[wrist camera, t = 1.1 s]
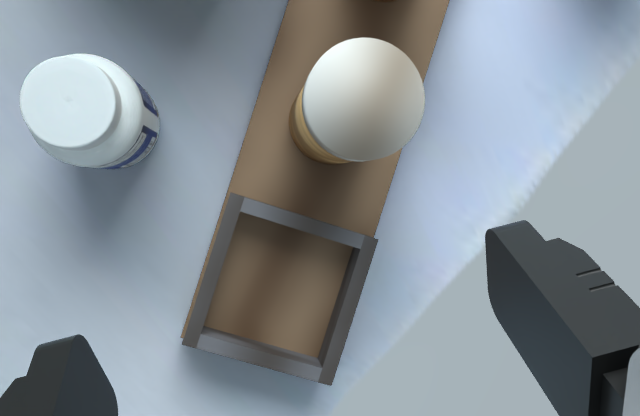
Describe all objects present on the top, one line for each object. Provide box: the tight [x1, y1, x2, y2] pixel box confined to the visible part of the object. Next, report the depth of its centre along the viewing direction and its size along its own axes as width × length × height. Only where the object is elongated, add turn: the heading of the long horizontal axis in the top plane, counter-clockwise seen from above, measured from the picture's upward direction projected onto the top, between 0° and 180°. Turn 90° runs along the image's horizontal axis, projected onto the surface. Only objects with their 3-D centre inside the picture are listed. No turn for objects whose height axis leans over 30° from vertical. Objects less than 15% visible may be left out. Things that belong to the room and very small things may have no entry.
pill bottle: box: [20, 54, 160, 169], centre depth 30 cm, size 5×5×10 cm
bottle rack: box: [181, 0, 449, 386], centre depth 31 cm, size 9×29×12 cm, turn 162°
